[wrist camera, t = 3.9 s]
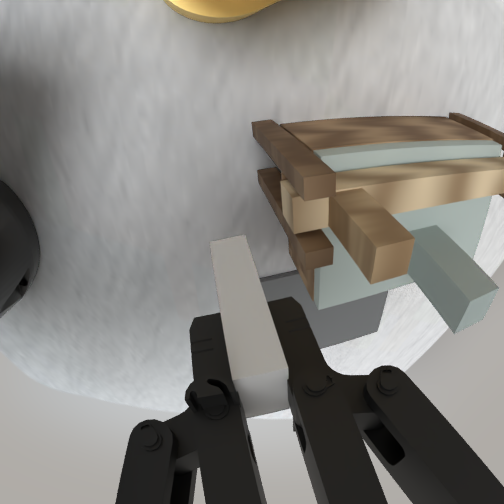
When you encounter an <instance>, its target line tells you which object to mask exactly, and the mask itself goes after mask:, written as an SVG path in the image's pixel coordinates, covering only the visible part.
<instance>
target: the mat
mask: <svg viewBox="0 0 504 504" xmlns="http://www.w3.org/2000/svg"><path fill="white" fill-rule="evenodd" d="M260 282H261V286H262V289H263V292H264V295H265V298H266V301H267V302H269V301H273V300H278V299H282V298H286V297H291V296H292V297H293V298H294V299H295V300H296V301H297V302H298V303H300V304H301V306H302V308H303V310H304V313H305V315H306V318H307V320H308V322H309V324H310V328H311V329H312V331H313V334H314V336H315V338H316V341H317V343H318V345H319V348H320V349H322V348H325V347H329V346H332V345H336V344H339V343H342V342H346V341H349V340H352V339H355V338H358V337H362V336H365V335H368V334H371V333H374V332H377V331H378V327H379V324H380V320H381V316H382V313H383V309H384V305H385V301H386V297H387V293H388V291H384V292H381V293H378V294H374V295H371V296H368V297H364V298H361V299H357V300H354V301H350V302H347V303H343V304H339V305H336V306H332V307H328V308H324V309H321V310H318V308H317V306H316V304H315V302H314V301H312V299H311V297H310V295H309V293H308V291H307V289H306V286H305V284H304V282H303V280H302V278H301V276H300V274H299V272H298V270H296V271H292V272H287V273H283V274H278V275H274V276H269V277H265V278H260Z"/></svg>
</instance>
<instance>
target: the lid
mask: <svg viewBox="0 0 504 504" xmlns="http://www.w3.org/2000/svg"><path fill="white" fill-rule="evenodd" d="M501 149H502V145H501V144H499V143H497V142H495V141H493V140H439V141H414V142H396V143H382V144H369V145H358V146H348V147H338V148H329V149H321V150H313V152H314V154H315V155H316V156H317V157H318V158H319V159H321V160H322V161H323V162H324V163H325V164H326V165H328V166H329V167H330V168H331V169H332V170H333V171H334V172H342V171H350V170H358V169H365V168H374V167H382V166H391V165H400V164H410V163H421V162H432V161H444V160H458V159H474V158H494V157H500V155H501ZM491 197H492V196H486V197H481V198H476V199H470V200H465V201H460V202H455V203H449V204H444V205H439V206H434V207H428V208H423V209H418V210H413V211H408V212H403V213H397V214H392V216H393V217H394V218H395V219H396V220H397V221H398V222H399V223H400V224H401V225H402V226H403V227H404V228H406V229H407V230H408V231H409V232H410V233H411V234H412V235H413V236H414V238H415V242H414V246H413V251H412V255H411V259H410V263H409V267H408V271H407V274H405V275H402V276H398V277H395V278H392V279H388V280H385V281H381V282H378V283H374V284H371V285H370V283H369V282H368V280H367V279H366V277H365V276H364V274H363V273H362V272H361V270H360V269H359V267H358V266H357V265H356V263H355V262H354V260H353V259H352V257H351V256H350V255H349V253H348V252H347V250H346V249H345V248H344V246H343V245H342V244H341V242H340V241H339V240H338V238H337V237H336V235H335V234H334V233H333V231H332V230H331V229H330V227H327V228H322V231H323V232H324V234H325V235H326V236H327V238H328V239H329V241H330V242H331V244H332V245H333V246H334V253H333V265H329V266H324V267H320V268H316V269H314V302H315V304H316V306H317V308H318V310H321V309H324V308H328V307H332V306H336V305H339V304H343V303H347V302H350V301H354V300H357V299H361V298H364V297H368V296H371V295H374V294H378V293H381V292H384V291H388V290H391V289H394V288H397V287H401V286H404V285H407V284H410V283H413V282H415V283H416V284H417V285H418V287H419V288H420V289H421V290H422V292H423V293H424V294H425V296H426V297H427V298H428V299H429V301H430V302H431V303H432V305H433V306H434V307H435V309H436V310H437V311H438V313H439V314H440V315H441V317H442V318H443V319H444V321H445V322H446V324H447V325H448V326H449V328H450V329H451V330H452V332H453V333H454V334H455V333H457V332H459V331H461V330H463V329H465V328H467V327H469V326H471V325H473V324H475V323H477V322H479V321H481V320H483V318H484V316H485V314H486V313H487V310H488V309H489V307H490V305H491V303H492V301H493V299H494V297H495V295H496V293H497V291H498V289H499V287H498V286H497V285H496V284H495V283H494V282H493V280H492V279H491V278H490V277H489V276H488V275H487V274H486V273H485V272H484V271H483V270H482V269H481V268H480V267H479V266H478V265H477V264H476V263H475V262H474V260H473V257H474V254H475V251H476V249H477V246H478V243H479V239H480V236H481V233H482V230H483V227H484V223H485V220H486V216H487V213H488V209H489V205H490V201H491Z"/></svg>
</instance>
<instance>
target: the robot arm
mask: <svg viewBox="0 0 504 504" xmlns="http://www.w3.org/2000/svg"><path fill="white" fill-rule="evenodd" d="M210 249H211V256H212V262H213V269H214V275H215V282H216V288H217V295H218V301H219V307H220V313H216V314H211V315H206V316H201V317H196V318H194V320H193V322H192V325H191V327H190V342H191V353H192V367H193V378H194V381H193V382H192V383H191V384H190V385H189V387H188V389H187V390H186V393H185V401H186V403H187V404H188V406H189V408H188V409H187V410H185V411H184V412H183V413H181V414H180V415H178V416H175V417H173V418H171V419H169V420H167V421H165V422H161V421H158V420H155V419H153V420H145V421H143V422H140V423H139V424H138V425H137V426H136V427H135V428H134V429H133V430H132V432H131V435H130V438H129V442H128V446H127V451H126V455H125V459H124V464H123V468H122V473H121V478H120V483H119V488H118V493H117V498H116V503H115V504H193V499H194V491H195V483H196V475H197V468H199V467H200V471H201V477H202V483H203V490H204V496H205V502H206V504H267V502H266V498H265V494H264V491H263V486H262V482H261V478H260V474H259V470H258V466H257V462H256V457H255V453H254V449H253V444H252V440H251V435H250V432H249V430H248V425H247V421H246V418H250V417H255V416H259V415H264V414H268V413H273V412H277V411H281V410H285V409H289V408H290V409H291V412H292V415H293V431H296V434H297V437H298V441H299V444H300V447H301V451H302V454H303V457H304V461H305V464H306V467H307V471H308V474H309V477H310V480H311V483H312V487H313V490H314V493H315V497H316V500H317V503H318V504H388V503H387V501H386V498H385V495H384V492H383V490H382V487H381V485H380V482H379V479H378V477H377V474H376V472H375V469H374V466H373V464H372V461H371V459H370V456H369V454H368V452H367V449H366V446H365V444H364V441H363V439H364V440H365V442H366V443H367V445H368V446H369V447H370V449H371V450H372V451H373V453H374V454H375V455H376V456H377V458H378V459H379V460H380V462H381V463H382V464H383V466H384V467H385V468H386V470H387V471H388V472H389V473H390V475H391V476H392V477H393V479H394V480H395V481H396V482H397V484H398V485H399V486H400V487H401V489H402V490H403V492H404V493H405V494H406V495H407V497H408V498H409V499H410V501H411V502H412V503H413V504H504V487H503V485H502V484H501V483H500V482H499V481H498V479H497V478H496V477H495V476H494V475H493V473H492V472H491V471H490V470H489V469H488V467H487V466H486V465H485V464H484V463H483V461H482V460H481V459H480V458H479V457H478V456H477V454H476V453H475V452H474V451H473V450H472V448H470V446H469V445H468V444H467V443H466V441H465V440H464V439H463V438H462V437H461V436H460V435H459V433H458V432H457V431H456V430H455V429H454V428H453V427H452V426H451V424H450V423H449V422H448V421H447V420H446V418H445V417H444V416H443V415H442V414H441V413H440V412H439V411H438V409H437V408H436V407H435V406H434V405H433V404H432V403H431V402H430V400H429V399H428V398H427V397H426V396H425V395H424V394H423V393H422V391H421V390H420V389H419V388H418V387H417V386H416V385H415V384H414V383H413V382H412V380H411V379H410V378H409V377H408V376H407V375H406V374H405V373H404V372H403V371H402V370H400V369H399V368H397V367H394V366H391V365H389V366H380V367H378V368H376V369H374V370H373V371H372V372H371V373H370V374H369V375H343V374H340V373H337V372H336V371H334V370H332V369H331V368H330V367H329V366H328V365H327V363H326V361H325V360H324V357H323V355H322V353H321V350H320V348H319V345H318V343H317V341H316V338H315V336H314V334H313V331H312V329H311V328H310V324H309V322H308V320H307V318H306V315H305V313H304V310H303V308H302V306H301V304H300V303H298V302H297V301H296V300H295V299H294V298H293V297H292V296H291V297H286V298H282V299H278V300H273V301H269V302H267V301H266V298H265V295H264V292H263V289H262V286H261V282H260V279H259V276H258V273H257V270H256V267H255V264H254V261H253V258H252V255H251V252H250V249H249V246H248V242H247V239H246V236H245V235H240V236H235V237H230V238H225V239H220V240H215V241H211V242H210ZM39 258H40V251H39V242H38V238H37V234H36V230H35V227H34V225H33V222H32V220H31V218H30V216H29V214H28V212H27V210H26V209H25V207H24V205H23V204H22V202H21V201H20V200H19V198H18V197H17V196H16V195H15V193H14V192H13V191H12V190H11V189H10V188H9V187H8V186H7V185H6V184H4V183H3V182H2V181H1V180H0V318H1V317H2V316H3V315H4V314H5V313H6V312H7V311H9V310H10V309H11V308H12V307H13V306H14V305H15V304H16V303H17V302H18V301H19V300H20V299H21V298H22V297H23V296H24V295H25V294H26V292H27V291H28V289H29V287H30V285H31V283H32V281H33V279H34V277H35V275H36V272H37V270H38V266H39ZM362 438H363V439H362Z"/></svg>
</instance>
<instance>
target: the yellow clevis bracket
mask: <svg viewBox="0 0 504 504" xmlns="http://www.w3.org/2000/svg"><path fill="white" fill-rule="evenodd" d="M164 1H165V3H166V4H167V5H168V6H169V7H170V8H172V9H173V10H174V11H176V12H177V13H179V14H181V15H183V16H185V17H187V18H190V19H192V20H196V21H200V22H206V23H226V22H233V21H237V20H240V19H243V18H246V17H248V16H250V15H253V14H254V13H256V12H258V11H260V10H262V9H264V8H266V7H268V6H270V5H272V4H274V3H277V2H279V1H281V0H164Z"/></svg>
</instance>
